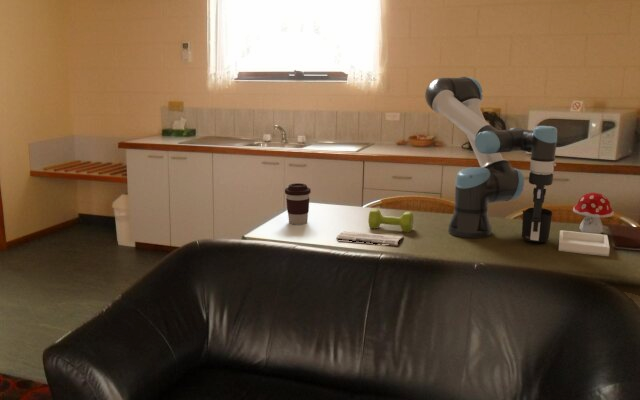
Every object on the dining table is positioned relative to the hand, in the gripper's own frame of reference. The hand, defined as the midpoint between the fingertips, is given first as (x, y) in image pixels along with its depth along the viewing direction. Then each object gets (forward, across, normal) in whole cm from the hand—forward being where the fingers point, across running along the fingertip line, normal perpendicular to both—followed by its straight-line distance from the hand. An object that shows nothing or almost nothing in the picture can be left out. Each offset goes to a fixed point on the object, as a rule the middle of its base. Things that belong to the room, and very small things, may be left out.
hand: (535, 236), depth 203 cm
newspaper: (+3, -19, +54) cm, 57 cm away
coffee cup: (+3, -8, +87) cm, 87 cm away
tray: (+2, 0, -15) cm, 15 cm away
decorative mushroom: (+2, +19, -18) cm, 26 cm away
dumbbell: (+3, -4, +51) cm, 51 cm away
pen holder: (+1, 0, 0) cm, 1 cm away
